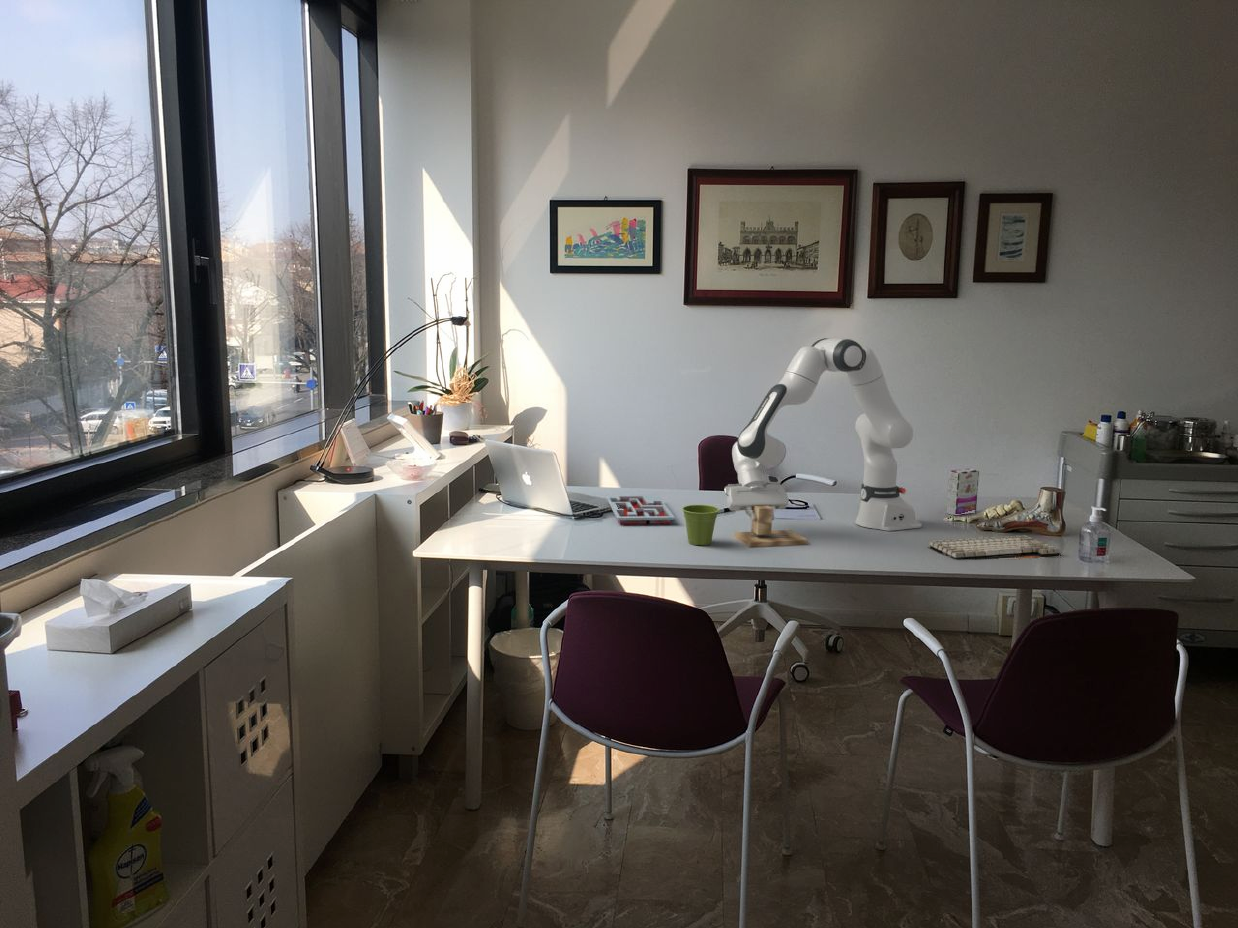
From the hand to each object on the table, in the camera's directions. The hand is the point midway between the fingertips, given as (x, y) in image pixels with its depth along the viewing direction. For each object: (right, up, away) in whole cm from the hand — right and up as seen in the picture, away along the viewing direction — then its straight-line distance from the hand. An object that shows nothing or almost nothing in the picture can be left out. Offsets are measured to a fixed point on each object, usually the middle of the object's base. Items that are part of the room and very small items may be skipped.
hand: (763, 519), depth 310 cm
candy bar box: (+80, -1, +49) cm, 94 cm away
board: (+3, -7, +3) cm, 8 cm away
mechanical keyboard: (+73, -11, -3) cm, 73 cm away
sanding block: (0, -5, +2) cm, 5 cm away
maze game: (-39, 0, +35) cm, 53 cm away
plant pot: (-21, -7, -2) cm, 22 cm away
